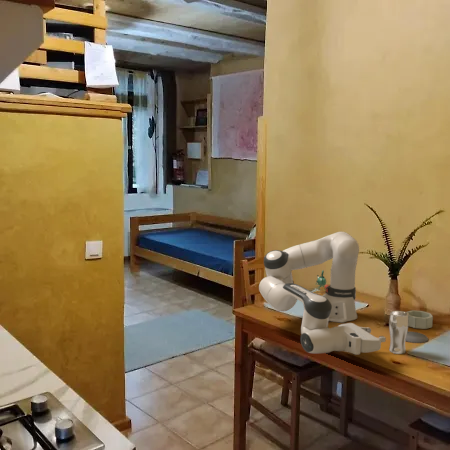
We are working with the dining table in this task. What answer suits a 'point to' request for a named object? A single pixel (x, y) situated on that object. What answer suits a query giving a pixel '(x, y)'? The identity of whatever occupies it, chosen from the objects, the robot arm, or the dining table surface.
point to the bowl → (419, 319)
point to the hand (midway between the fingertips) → (377, 334)
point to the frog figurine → (321, 282)
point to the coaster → (416, 337)
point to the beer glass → (398, 331)
